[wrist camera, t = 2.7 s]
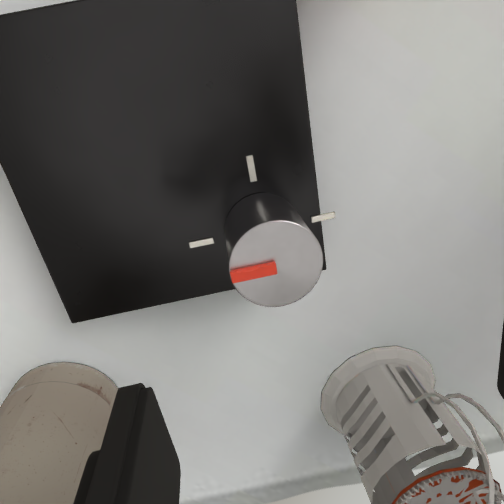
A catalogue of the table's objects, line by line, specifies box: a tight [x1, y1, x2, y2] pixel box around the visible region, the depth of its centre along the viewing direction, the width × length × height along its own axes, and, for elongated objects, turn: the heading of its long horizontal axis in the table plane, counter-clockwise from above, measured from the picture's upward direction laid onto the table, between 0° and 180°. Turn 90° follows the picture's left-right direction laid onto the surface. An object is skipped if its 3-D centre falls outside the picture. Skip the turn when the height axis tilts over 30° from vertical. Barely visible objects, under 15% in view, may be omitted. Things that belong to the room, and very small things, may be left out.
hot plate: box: [0, 0, 335, 323], centre depth 21 cm, size 17×17×3 cm
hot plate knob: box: [225, 193, 323, 307], centre depth 20 cm, size 4×4×5 cm
